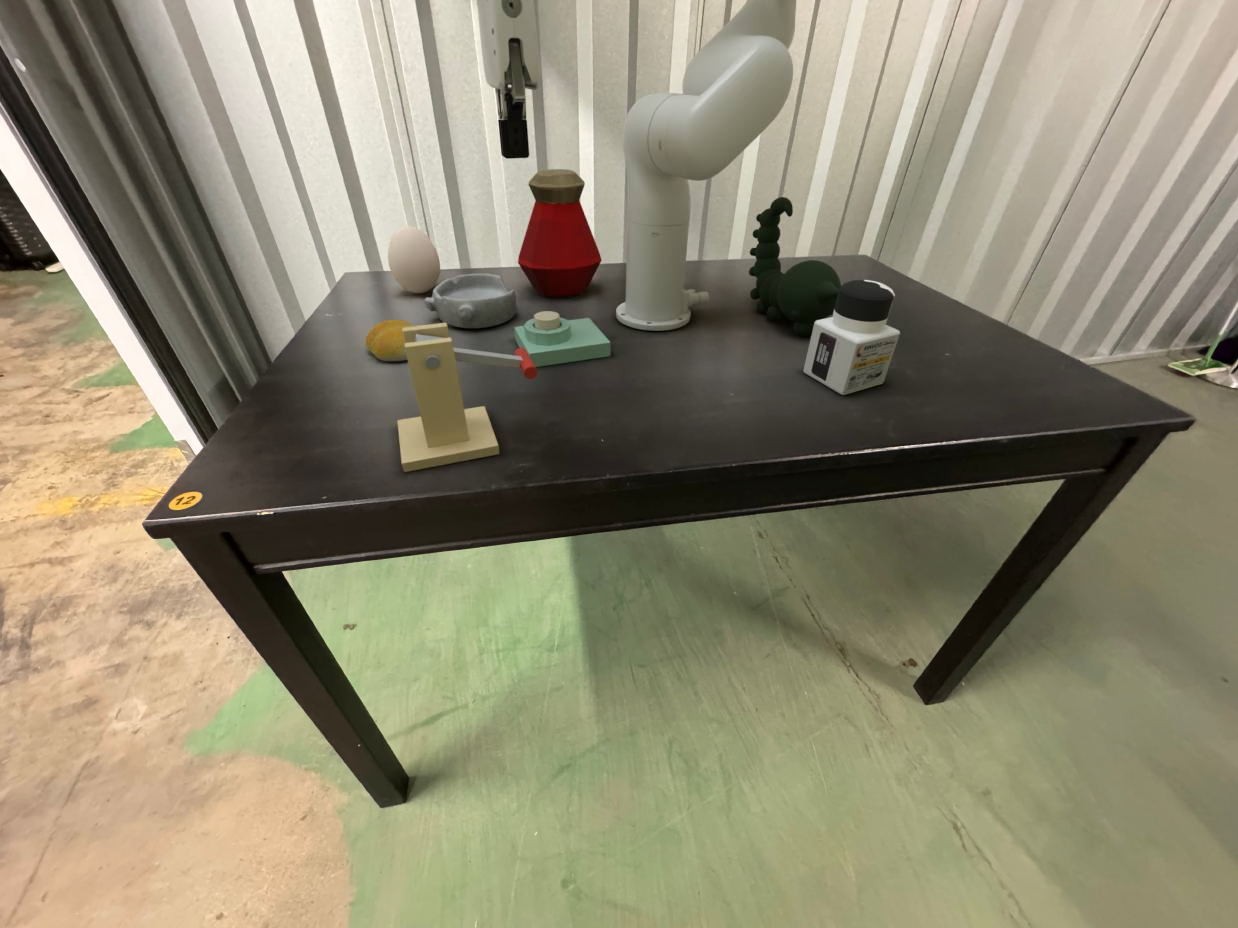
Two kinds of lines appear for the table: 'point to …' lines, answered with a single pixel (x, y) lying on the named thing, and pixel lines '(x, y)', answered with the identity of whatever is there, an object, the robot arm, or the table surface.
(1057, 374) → the table surface
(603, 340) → the button panel
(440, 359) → the bracket
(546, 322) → the button
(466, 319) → the dish
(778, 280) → the segmented green worm
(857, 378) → the container
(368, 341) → the bread roll
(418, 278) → the egg
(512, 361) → the lever
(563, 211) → the bottle
